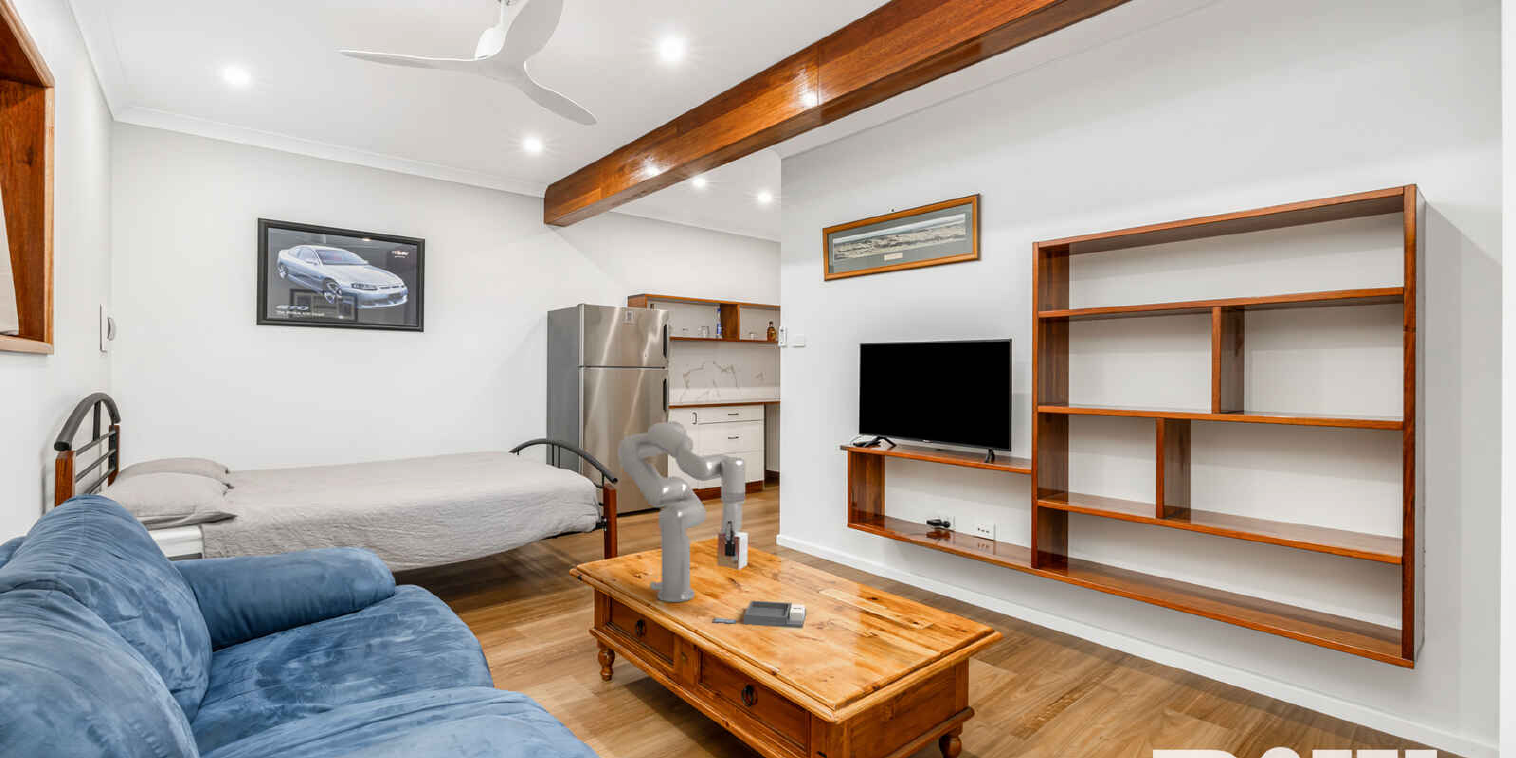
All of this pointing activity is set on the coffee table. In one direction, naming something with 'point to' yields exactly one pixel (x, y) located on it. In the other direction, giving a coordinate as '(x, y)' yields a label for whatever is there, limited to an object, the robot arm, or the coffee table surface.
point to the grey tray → (775, 614)
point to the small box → (740, 551)
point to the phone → (724, 621)
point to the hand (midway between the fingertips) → (732, 552)
